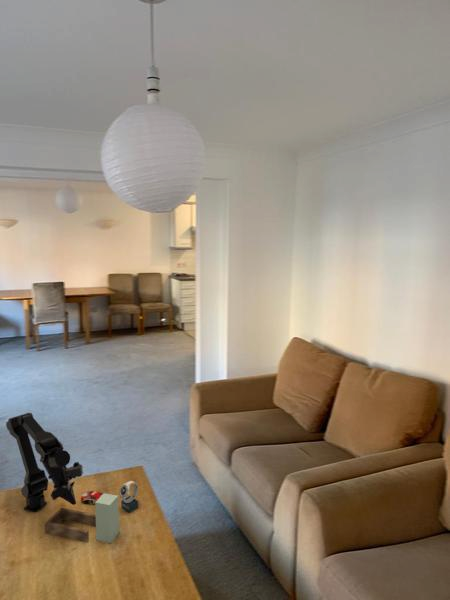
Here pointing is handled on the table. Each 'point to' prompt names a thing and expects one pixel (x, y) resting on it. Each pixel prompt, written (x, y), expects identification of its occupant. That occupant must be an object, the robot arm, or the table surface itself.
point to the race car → (90, 497)
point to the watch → (129, 502)
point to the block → (107, 518)
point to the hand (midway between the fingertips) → (75, 504)
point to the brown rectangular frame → (67, 531)
